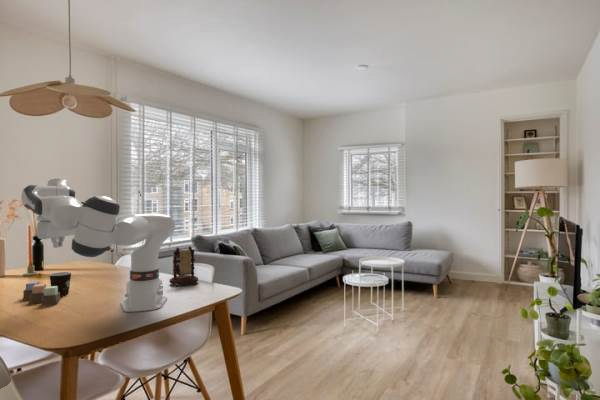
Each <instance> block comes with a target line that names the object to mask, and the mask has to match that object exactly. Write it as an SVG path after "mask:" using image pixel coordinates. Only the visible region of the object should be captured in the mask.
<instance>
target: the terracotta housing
mask: <svg viewBox="0 0 600 400" xmlns="http://www.w3.org/2000/svg"><path fill="white" fill-rule="evenodd" d="M43 295H44V293H34V294H32V293H31V294H30V299H29V304H34V303H33V302H39V303H42V296H43Z"/></svg>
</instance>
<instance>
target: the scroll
mask: <svg viewBox="0 0 600 400" xmlns="http://www.w3.org/2000/svg"><path fill="white" fill-rule="evenodd" d="M172 254H173V261H172V262H173V276H172V277H171V278H170V279H169V284H171V285H172V284H173V285H176V287H179V286H180V285H189V284H194V285H197V282H198V281H199V277H197V276H195V261H196V259H195V249H193V248H192V246H191V245H190V246H188V248H187V249H180V248H179V247H178V246H177V247H176V249H175V250H174V251H173V252H172ZM177 259H178V260H177Z"/></svg>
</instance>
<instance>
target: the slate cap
mask: <svg viewBox="0 0 600 400" xmlns="http://www.w3.org/2000/svg"><path fill="white" fill-rule="evenodd" d="M37 284H40V281H28V282H27V283H25V290H26V291H29V290H32V287H33V286H34V285H37Z"/></svg>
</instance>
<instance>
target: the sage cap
mask: <svg viewBox="0 0 600 400" xmlns="http://www.w3.org/2000/svg"><path fill="white" fill-rule="evenodd" d="M57 293H58V286H51V285H50V286H46V288H44V296H50V295H56V294H57Z"/></svg>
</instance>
